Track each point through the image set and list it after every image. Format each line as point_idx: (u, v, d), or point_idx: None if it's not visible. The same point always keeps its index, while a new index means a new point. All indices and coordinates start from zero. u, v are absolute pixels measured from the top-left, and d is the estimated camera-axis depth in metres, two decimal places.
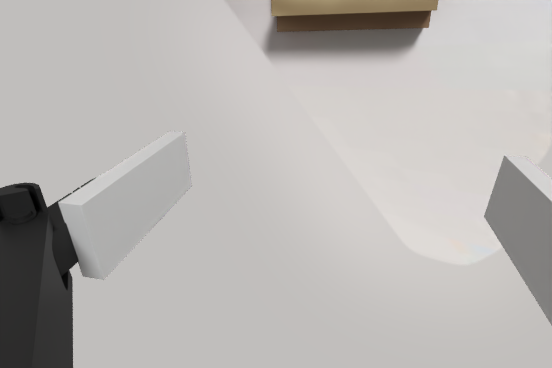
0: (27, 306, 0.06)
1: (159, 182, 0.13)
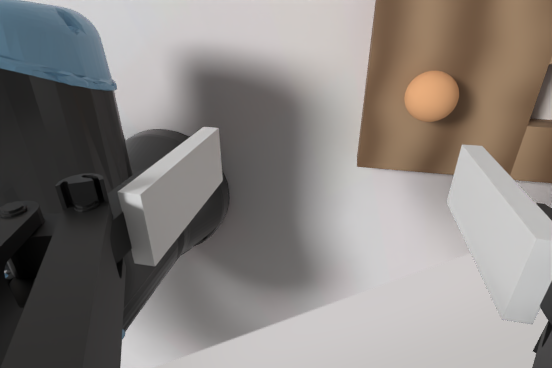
0: (84, 293, 0.07)
1: (198, 175, 0.14)
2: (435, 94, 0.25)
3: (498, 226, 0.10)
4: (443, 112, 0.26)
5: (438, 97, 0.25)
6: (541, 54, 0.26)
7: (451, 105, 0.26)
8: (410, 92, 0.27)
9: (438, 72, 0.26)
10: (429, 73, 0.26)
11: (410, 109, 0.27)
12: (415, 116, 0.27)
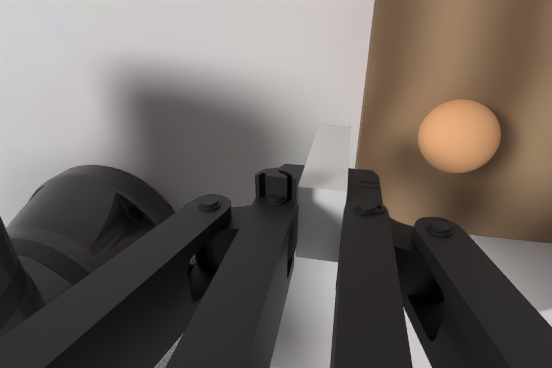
0: (257, 293, 0.07)
1: None
2: (467, 138, 0.17)
3: None
4: (477, 163, 0.17)
5: (471, 141, 0.17)
6: None
7: (490, 153, 0.17)
8: (427, 131, 0.18)
9: (470, 103, 0.17)
10: (457, 104, 0.17)
11: (428, 156, 0.18)
12: (434, 165, 0.19)
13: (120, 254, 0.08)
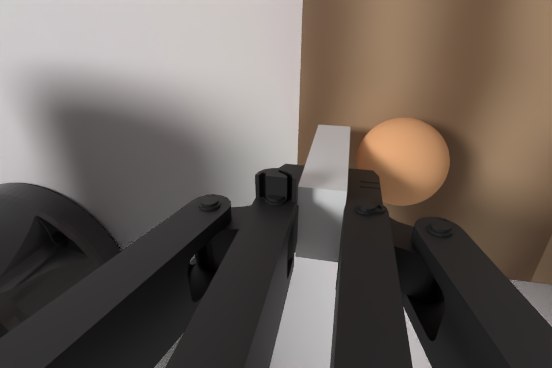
0: (257, 293, 0.07)
1: None
2: (404, 167, 0.14)
3: None
4: (421, 196, 0.14)
5: (410, 171, 0.14)
6: None
7: (435, 184, 0.14)
8: (362, 156, 0.15)
9: (412, 123, 0.14)
10: (395, 124, 0.14)
11: None
12: None
13: (120, 254, 0.08)
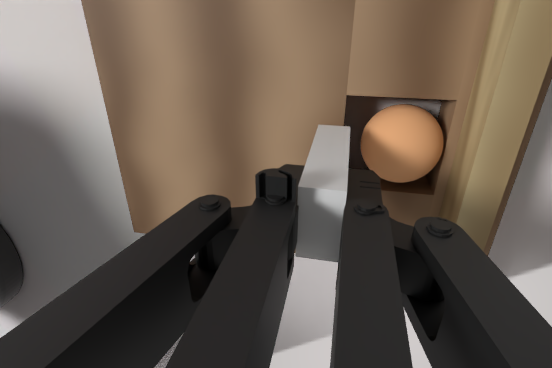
0: (257, 293, 0.07)
1: None
2: (425, 146, 0.16)
3: None
4: (431, 169, 0.17)
5: (429, 149, 0.16)
6: (332, 80, 0.16)
7: None
8: (380, 144, 0.16)
9: (414, 108, 0.16)
10: (403, 111, 0.16)
11: (383, 170, 0.17)
12: (388, 178, 0.17)
13: (119, 254, 0.08)
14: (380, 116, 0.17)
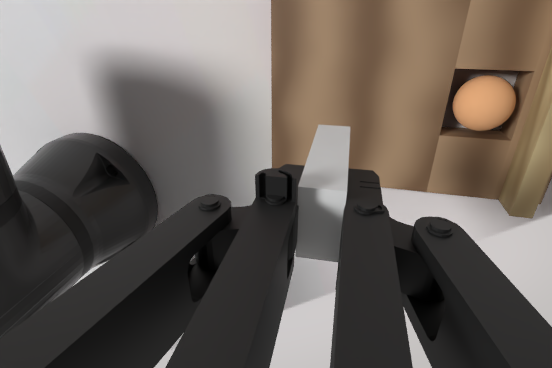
0: (257, 293, 0.07)
1: None
2: (500, 102, 0.23)
3: None
4: (504, 120, 0.24)
5: (503, 104, 0.23)
6: (445, 58, 0.24)
7: None
8: (467, 100, 0.24)
9: (495, 77, 0.24)
10: (487, 78, 0.24)
11: (467, 119, 0.25)
12: (471, 126, 0.25)
13: (120, 254, 0.08)
14: (469, 82, 0.25)
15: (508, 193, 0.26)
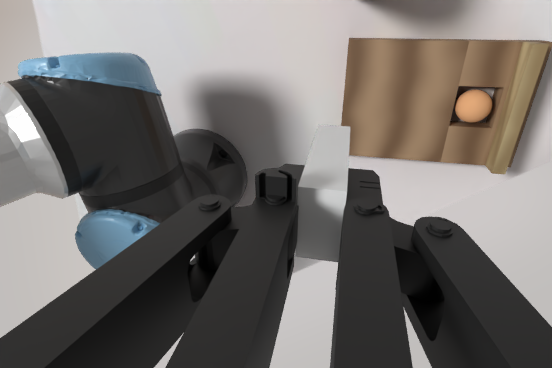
0: (257, 293, 0.07)
1: None
2: (481, 105, 0.40)
3: None
4: (484, 116, 0.41)
5: (483, 106, 0.40)
6: (453, 79, 0.41)
7: (489, 111, 0.41)
8: (463, 104, 0.41)
9: (479, 90, 0.41)
10: (474, 91, 0.41)
11: (462, 115, 0.42)
12: (465, 119, 0.42)
13: (120, 254, 0.08)
14: (464, 93, 0.42)
15: (491, 160, 0.43)
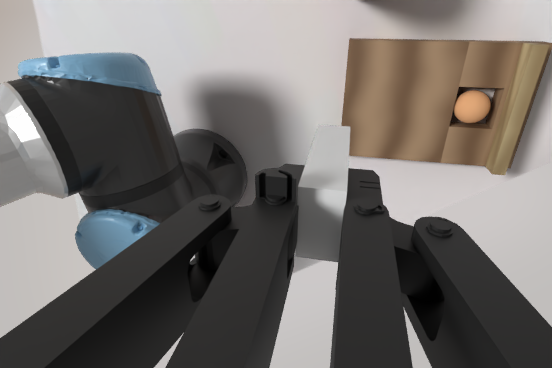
0: (257, 293, 0.07)
1: None
2: (478, 106, 0.40)
3: None
4: (481, 117, 0.41)
5: (480, 107, 0.40)
6: (453, 80, 0.41)
7: (487, 112, 0.41)
8: (459, 104, 0.41)
9: (477, 91, 0.41)
10: (472, 92, 0.41)
11: (460, 115, 0.42)
12: (462, 119, 0.42)
13: (120, 254, 0.08)
14: (462, 94, 0.42)
15: (490, 161, 0.43)
